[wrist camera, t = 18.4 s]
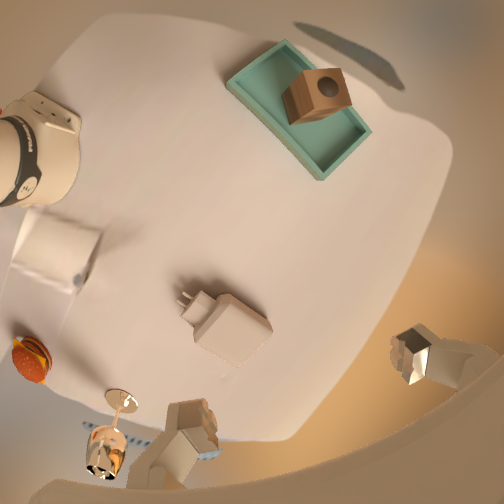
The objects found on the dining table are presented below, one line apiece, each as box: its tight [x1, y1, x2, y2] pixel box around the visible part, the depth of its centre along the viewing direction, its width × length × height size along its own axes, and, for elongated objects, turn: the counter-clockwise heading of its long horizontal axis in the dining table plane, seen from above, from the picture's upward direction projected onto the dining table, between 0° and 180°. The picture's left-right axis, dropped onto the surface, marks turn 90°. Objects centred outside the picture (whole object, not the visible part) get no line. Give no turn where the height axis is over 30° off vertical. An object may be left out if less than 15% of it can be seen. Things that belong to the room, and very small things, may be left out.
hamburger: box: [12, 337, 52, 384], centre depth 40 cm, size 9×10×7 cm
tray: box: [226, 39, 372, 181], centre depth 37 cm, size 20×12×3 cm, turn 44°
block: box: [281, 68, 352, 125], centre depth 32 cm, size 5×5×11 cm
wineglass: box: [86, 390, 138, 480], centre depth 38 cm, size 8×8×20 cm
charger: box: [176, 290, 273, 368], centre depth 43 cm, size 5×9×15 cm
